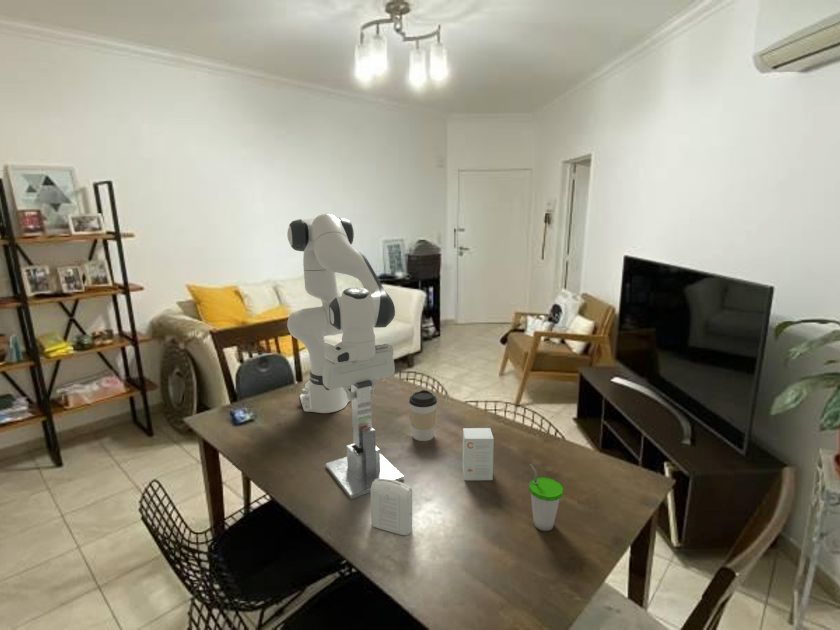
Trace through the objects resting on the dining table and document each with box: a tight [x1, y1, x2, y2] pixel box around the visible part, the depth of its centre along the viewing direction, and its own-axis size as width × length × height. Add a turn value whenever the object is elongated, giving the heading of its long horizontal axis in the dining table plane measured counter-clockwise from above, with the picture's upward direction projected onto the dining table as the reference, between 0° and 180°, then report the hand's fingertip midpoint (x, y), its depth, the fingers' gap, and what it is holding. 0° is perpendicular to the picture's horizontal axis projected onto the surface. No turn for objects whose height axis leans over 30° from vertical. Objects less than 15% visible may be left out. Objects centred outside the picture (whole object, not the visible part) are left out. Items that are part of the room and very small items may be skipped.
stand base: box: [325, 427, 405, 500], centre depth 128 cm, size 18×16×16 cm
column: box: [350, 380, 373, 448], centre depth 125 cm, size 6×4×19 cm, turn 32°
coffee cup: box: [408, 389, 438, 442], centre depth 149 cm, size 9×9×15 cm
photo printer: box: [370, 479, 413, 536], centre depth 107 cm, size 10×4×12 cm, turn 69°
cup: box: [528, 463, 564, 532], centre depth 107 cm, size 8×8×15 cm
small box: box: [462, 427, 495, 481], centre depth 127 cm, size 8×6×13 cm
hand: (360, 396), depth 124 cm, fingers open, 5 cm apart
